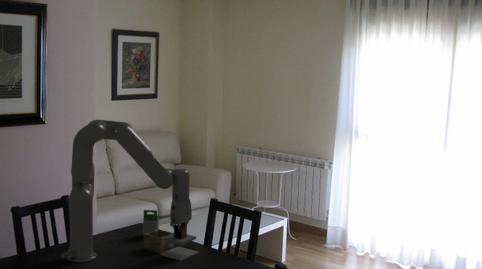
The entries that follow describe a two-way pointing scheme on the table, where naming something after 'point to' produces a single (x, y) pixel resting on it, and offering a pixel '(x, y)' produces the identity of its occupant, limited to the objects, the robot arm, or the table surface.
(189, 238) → the lid
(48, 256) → the table surface
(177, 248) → the felt mat
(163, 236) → the keepsake box
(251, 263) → the table surface
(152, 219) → the ink box
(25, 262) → the table surface
